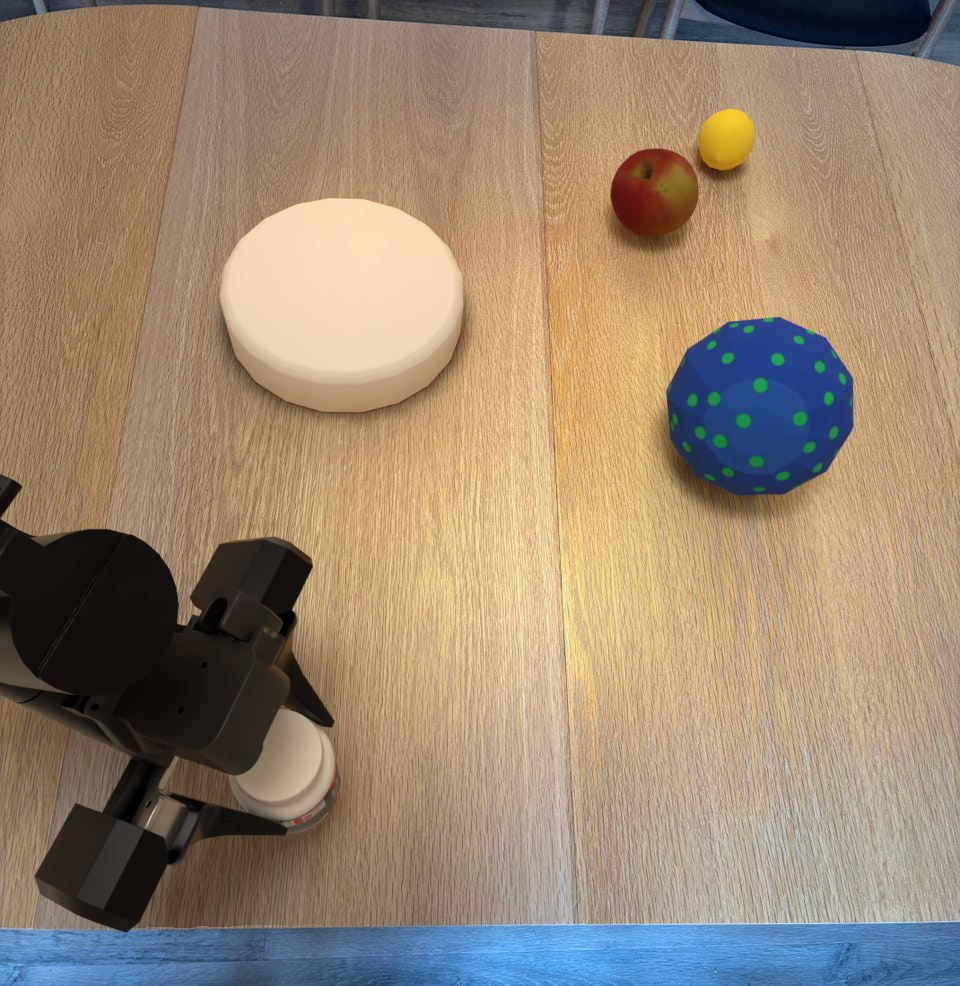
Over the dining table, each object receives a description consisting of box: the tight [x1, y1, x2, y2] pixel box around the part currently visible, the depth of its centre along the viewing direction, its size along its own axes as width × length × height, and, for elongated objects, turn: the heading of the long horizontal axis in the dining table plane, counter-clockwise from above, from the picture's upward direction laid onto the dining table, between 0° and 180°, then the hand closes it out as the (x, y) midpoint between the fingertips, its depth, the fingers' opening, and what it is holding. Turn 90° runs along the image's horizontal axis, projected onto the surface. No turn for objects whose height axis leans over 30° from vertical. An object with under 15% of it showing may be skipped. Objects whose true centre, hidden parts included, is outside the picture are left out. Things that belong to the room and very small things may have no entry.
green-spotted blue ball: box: [665, 316, 855, 497], centre depth 67 cm, size 14×14×15 cm
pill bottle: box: [228, 708, 342, 837], centre depth 48 cm, size 6×6×10 cm
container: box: [218, 197, 464, 413], centre depth 72 cm, size 20×20×5 cm
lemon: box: [698, 108, 756, 171], centre depth 85 cm, size 7×5×5 cm
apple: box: [609, 147, 700, 238], centre depth 79 cm, size 8×8×8 cm
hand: (306, 776), depth 47 cm, fingers closed on pill bottle, 6 cm apart
